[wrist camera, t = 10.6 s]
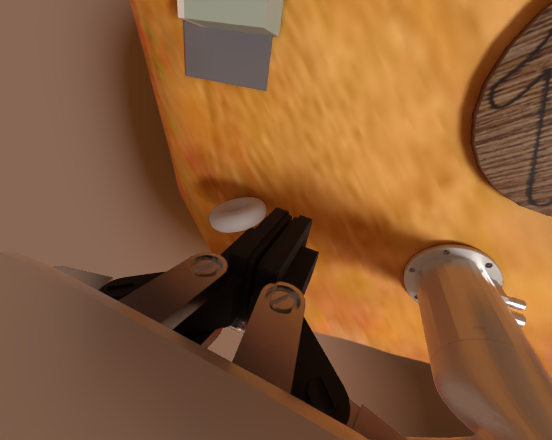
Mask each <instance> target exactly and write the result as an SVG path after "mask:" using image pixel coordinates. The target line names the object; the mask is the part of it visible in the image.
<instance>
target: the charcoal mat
mask: <svg viewBox="0 0 552 440" xmlns="http://www.w3.org/2000/svg"><path fill="white" fill-rule="evenodd" d="M184 37H185V66H186V76H190V77H195V78H201V79H206V80H211V81H217V82H222V83H227V84H232V85H238V86H243V87H248V88H253V89H259V90H264V91H266V89H267V80H268V72H269V63H270V54H271V45H272V37H273V36H267V35H260V34H252V33H244V32H236V31H229V30H221V29H213V28H206V27H201V26H198V25H196V24H193V23H191V22H188V21H186V20H184Z"/></svg>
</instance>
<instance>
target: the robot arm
mask: <svg viewBox="0 0 552 440" xmlns="http://www.w3.org/2000/svg"><path fill="white" fill-rule="evenodd" d="M291 220H292V216H291V215H289V212H288V211H286V210H283V209H280V208H276V209H275V210H274V211H273V212H272V213H270V214H269V215H268V216H267V217H266V218H265V219H264V220H263V221H262V222H261V223H260V224H259V225H258V226H257V227H256V228H255V229H253V228H249V229H248V230H247V231H246V232H245V233H244V234H242V235H241V236H240V237H239V238H238V239H237V240H236V241H235V242H234V243H233V244H232V245H231V246H229V247H228V248H227V249H226V250H225V251H224V252H223V253H222V254H221V255H218V254H216V253H209V252H207V253H199V254H196V255H194V256H191V257H190V258H188V259H186V260H185V261H183V262H181V263H180V264H178V265H176V266H175V267H173V268H171V269H170V270H168V271H166V272H160V273H152V274H145V275H138V276H131V277H124V278H119V279H116V280H113V277H109V276H104V275H100V274H95V273H92V272H87V271H83V270H78V269H74V268H70V267H64V266H54V267H51V266H49V265H47V264H45V263H43V262H40V261H38V260H36V259H33V258H30V257H27V256H24V255H21V254H18V253H14V252H10V251H5V250H1V249H0V440H552V378H551V376H550V374H549V373H548V371H547V370H546V368H545V366H544V365H543V363H542V362H541V360H540V358H539V357H538V355H537V353H536V352H535V350H534V349H533V347H532V345H531V344H530V342H529V340H528V339H527V337H526V336H525V334H524V332H523V331H522V329H521V327H523V326H524V325H525V323H526V319H525V316H524V315H523V314H520V313H517V312H514V311H511V310H509V308H508V306H510V307H512V308H515V309H518V310H524V309H525V308H526V303H525V301H523V300H520V299H517V298H514V297H509V296H507V295H506V293H505V292H504V290H503V289H502V286H503V276H502V273H501V270H500V269H499V267H498V266H497V264H496V263H495V262H494V261H493V259H492V258H491V257H489V256H488V255H487V254H485V253H484V252H482V251H480V250H477V249H475V248H472V247H468V246H464V245H457V244H446V245H438V246H434V247H430V248H427V249H425V250H423V251H421V252H419V253H418V254H416V255H415V256H414V257H413V258H412V259H411V260H410V261H409V262H408V263H407V265H406V267H405V270H404V275H403V279H404V285H405V288H406V290H407V292H408V294H409V295H410V296H411V297H412V298H413V299H414V300H415V301H416V302H418V303H419V307H420V313H421V318H422V323H423V328H424V333H425V338H426V343H427V349H428V354H429V359H430V364H431V369H432V374H433V379H434V382H435V385H436V387H437V390H438V392H439V393H440V395H441V397H442V399H443V400H444V402H445V403H446V405H447V406H448V407H449V408H450V409H451V410H452V412H453V413H454V414H455V415H456V416H457V417H458V418H459V419H460V420H461V421H462V422H463V423H464V424H465V425H466V426H467V427H469V428H470V429H471V430H472V431H473V432H474V433H475V435H474V436H471V437H454V438H412V437H411V438H410V437H407V438H405V437H404V436H403V435H401V434H400V433H399V432H397V431H396V430H395V429H394V428H392V427H391V426H390V425H388V424H387V423H386V422H385V421H383V420H382V419H381V418H379V417H378V416H377V415H376V414H374V413H373V412H372V411H371V410H369V409H368V408H367V407H365V406H364V405H361V407H359V406H358V405H357V404H355V403H354V402H353V401H351V400H350V399H349V397H348V395H347V392H346V390H345V388H344V386H343V384H342V382H341V381H340V379H339V377H338V376H337V374H336V372H335V370H334V368H333V367H332V365H331V363H330V362H329V360H328V358H327V356H326V355H325V353H324V351H323V349H322V348H321V346H320V344H319V342H318V341H317V339H316V337H315V335H314V334H313V332H312V330H311V328H310V327H309V325H308V323H307V321H306V320H305V318H304V311H305V298H304V294H305V291H306V289H307V286H308V284H309V281H310V279H311V276H312V273H313V270H314V267H315V264H316V261H317V257H318V254H319V252H317V251H314V250H312V249H309V248H306V247H305V246H306V243H307V239H308V235H309V231H310V228H311V224H312V219H310V218H307V217H304V216H301V215H300V216H299V218H297V217H294V218H293V220H292V221H291ZM507 305H508V306H507ZM241 322H244V323H246V322H247V327H246V329H245V332H244V334H243V336H242V339H241V341H240V344H239V346H238V349H237V351H236V353H235V356H234V358H233V361H232V362H230V361H229V360H227V359H225V358H223V357H221V356H219V355H218V354H216V353H214V352H212V351H210V350H208V349H207V348H208V347H209V346H210V345H211V344H212V343H213V342H214V341H215V340H216V338H217V337H218V336H219V335H220V333H221V332H222V329H223V328H225V327H229V326H232V327H234V328H236V329H237V328H238V326H239V325H240V323H241Z"/></svg>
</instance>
